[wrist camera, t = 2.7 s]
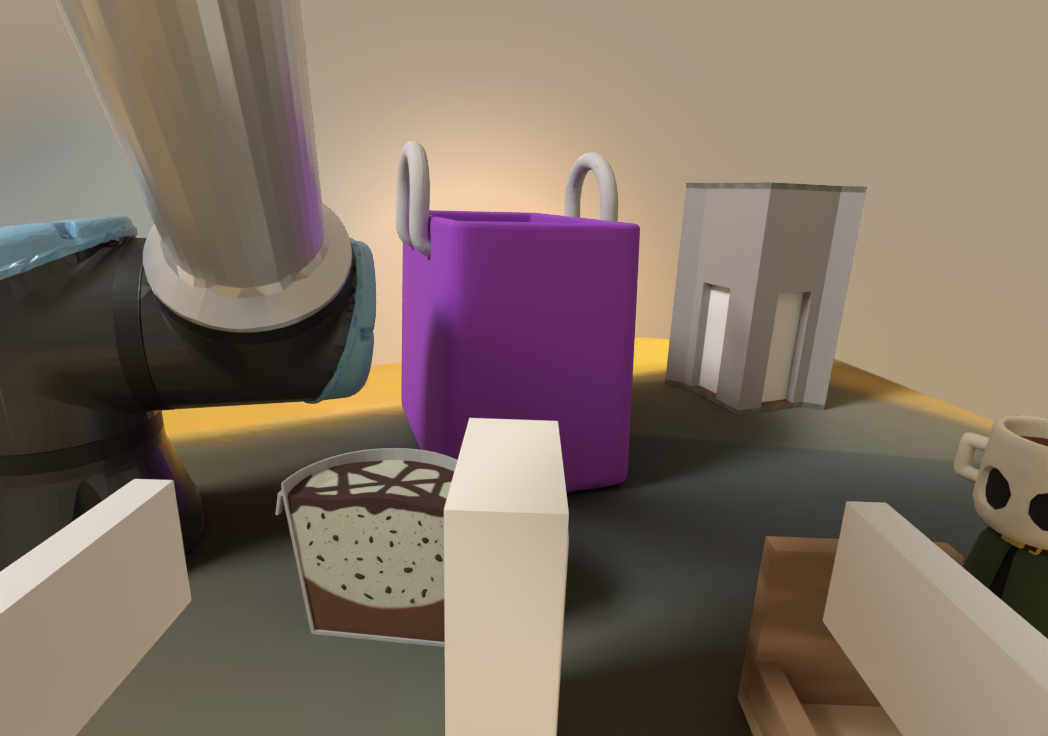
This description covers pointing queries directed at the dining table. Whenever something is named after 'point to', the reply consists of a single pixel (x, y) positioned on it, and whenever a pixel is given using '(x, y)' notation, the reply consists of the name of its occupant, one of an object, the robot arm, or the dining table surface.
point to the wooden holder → (804, 651)
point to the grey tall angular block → (761, 292)
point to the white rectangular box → (505, 580)
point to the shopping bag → (520, 320)
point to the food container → (371, 543)
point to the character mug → (1011, 513)
